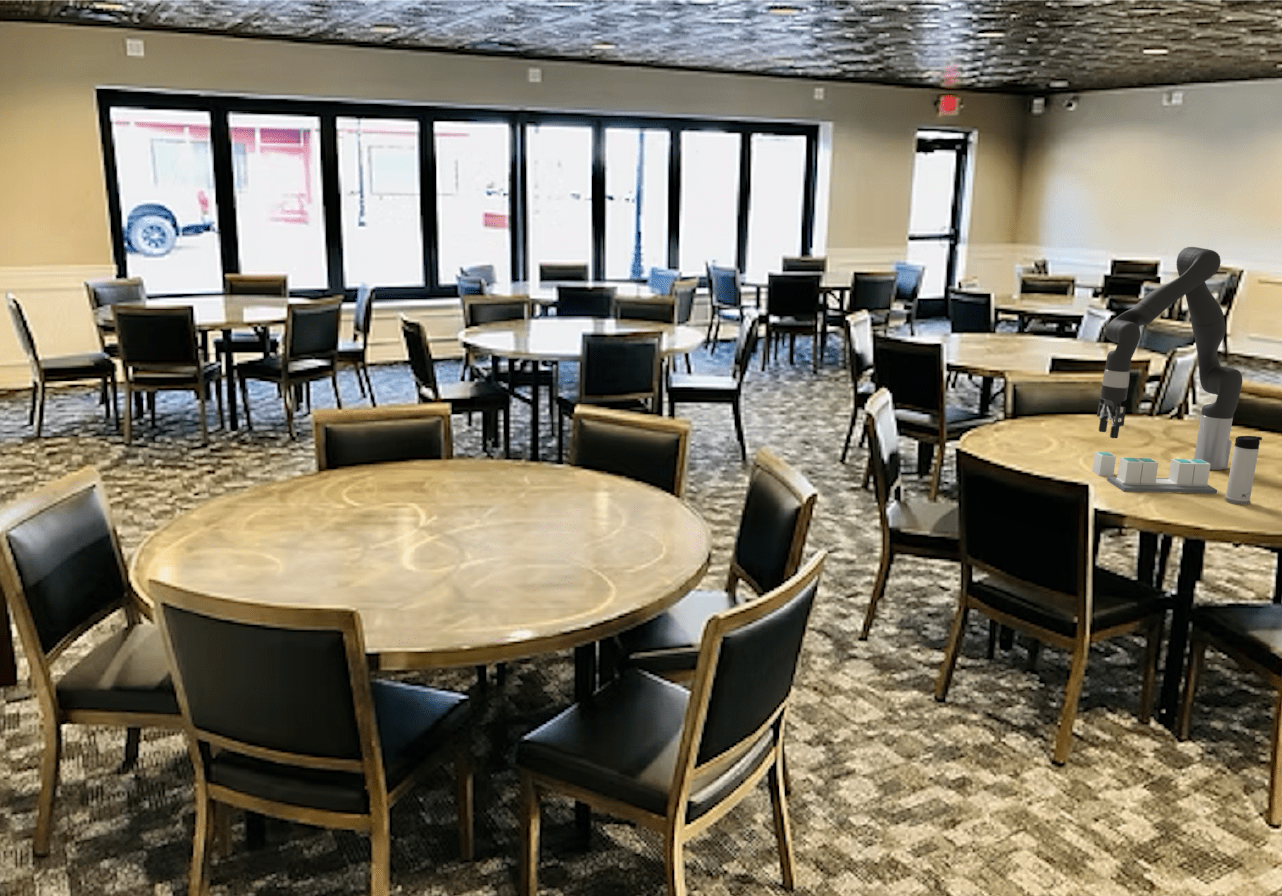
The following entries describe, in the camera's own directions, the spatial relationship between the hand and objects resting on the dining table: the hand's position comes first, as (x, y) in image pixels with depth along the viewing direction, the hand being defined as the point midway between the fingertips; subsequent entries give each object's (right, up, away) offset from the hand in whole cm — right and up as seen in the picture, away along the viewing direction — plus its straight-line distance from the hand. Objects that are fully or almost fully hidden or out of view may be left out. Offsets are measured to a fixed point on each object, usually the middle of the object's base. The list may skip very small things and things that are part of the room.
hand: (1107, 434), depth 333 cm
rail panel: (+12, -16, -10) cm, 22 cm away
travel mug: (+28, -20, -24) cm, 42 cm away
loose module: (0, -12, +3) cm, 13 cm away
